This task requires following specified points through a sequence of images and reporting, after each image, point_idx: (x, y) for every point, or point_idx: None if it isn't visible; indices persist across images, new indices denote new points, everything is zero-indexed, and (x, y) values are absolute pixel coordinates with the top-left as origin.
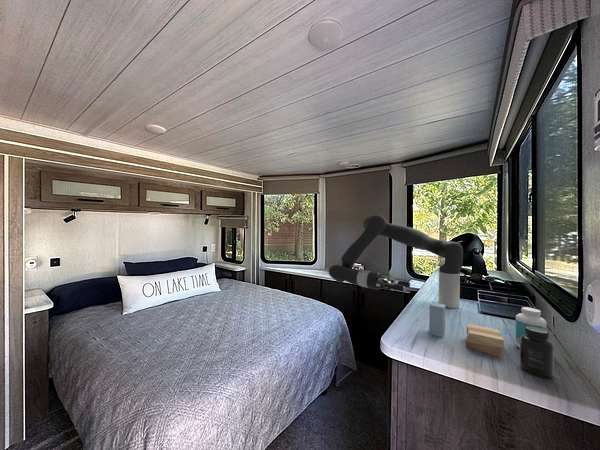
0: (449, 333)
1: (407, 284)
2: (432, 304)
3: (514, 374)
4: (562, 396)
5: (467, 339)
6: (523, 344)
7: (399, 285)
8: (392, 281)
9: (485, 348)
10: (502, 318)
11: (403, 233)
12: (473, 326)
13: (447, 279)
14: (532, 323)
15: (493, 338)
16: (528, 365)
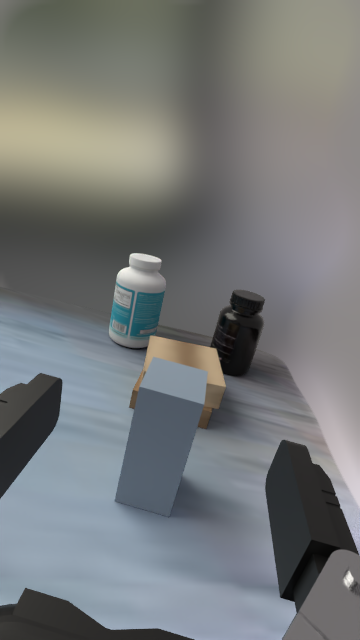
0: (121, 445)
1: (49, 410)
2: (187, 394)
3: (269, 391)
4: (283, 370)
5: (204, 407)
6: (254, 333)
7: (313, 474)
8: (59, 604)
9: None
10: None
11: None
12: None
13: None
14: (165, 286)
15: (218, 359)
16: (249, 363)
